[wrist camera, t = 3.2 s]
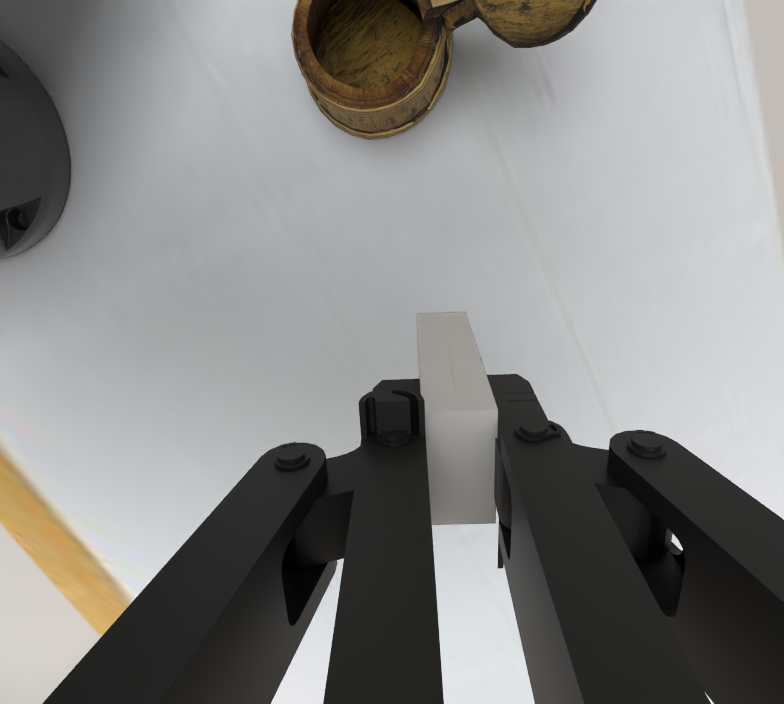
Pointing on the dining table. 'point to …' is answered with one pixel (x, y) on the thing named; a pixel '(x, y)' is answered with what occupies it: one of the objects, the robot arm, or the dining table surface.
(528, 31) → the wooden mug
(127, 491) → the dining table surface
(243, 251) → the dining table surface
